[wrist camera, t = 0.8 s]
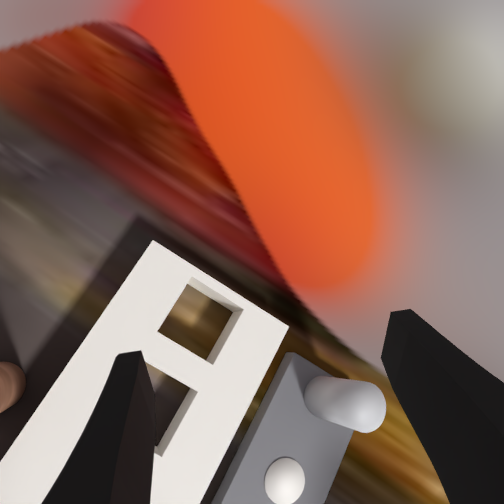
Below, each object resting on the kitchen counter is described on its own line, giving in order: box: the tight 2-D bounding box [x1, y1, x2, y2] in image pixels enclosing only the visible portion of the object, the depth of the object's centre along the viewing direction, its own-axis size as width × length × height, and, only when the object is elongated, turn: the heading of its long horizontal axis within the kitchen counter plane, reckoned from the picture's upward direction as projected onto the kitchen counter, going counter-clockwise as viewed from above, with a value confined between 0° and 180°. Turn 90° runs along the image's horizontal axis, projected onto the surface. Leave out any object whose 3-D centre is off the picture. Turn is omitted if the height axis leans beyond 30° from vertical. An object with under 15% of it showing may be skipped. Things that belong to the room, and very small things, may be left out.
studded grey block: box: [211, 352, 386, 504], centre depth 24 cm, size 14×6×6 cm, turn 151°
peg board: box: [0, 240, 289, 504], centre depth 24 cm, size 16×10×2 cm, turn 151°
